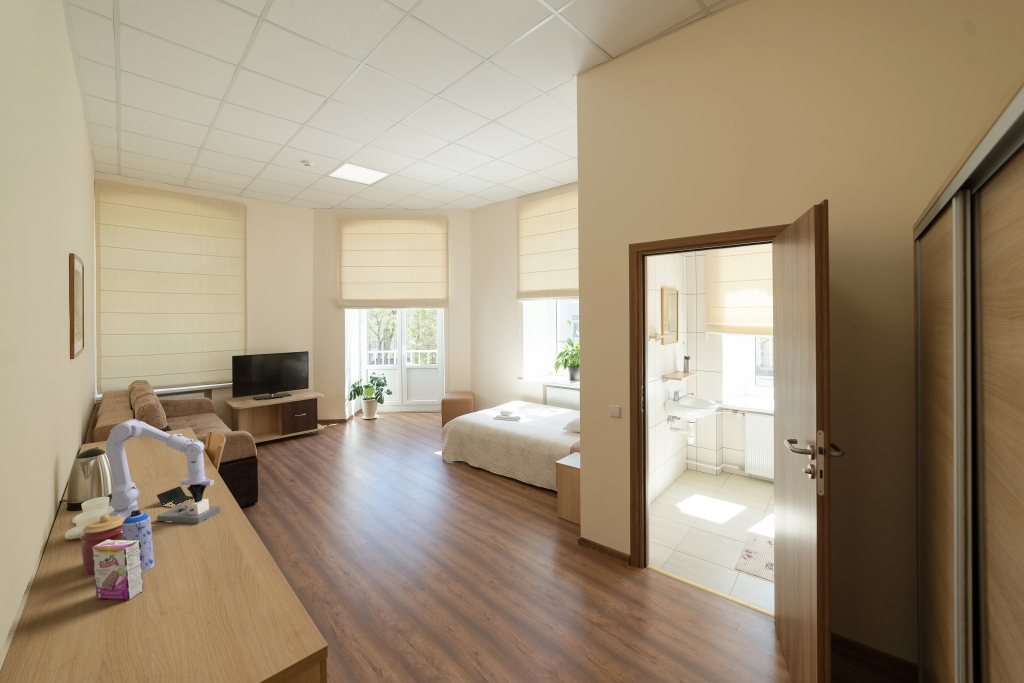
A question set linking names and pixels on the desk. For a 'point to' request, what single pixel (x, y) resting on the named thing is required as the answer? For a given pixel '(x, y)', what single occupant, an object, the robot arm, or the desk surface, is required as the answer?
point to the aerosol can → (140, 536)
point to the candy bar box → (117, 569)
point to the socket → (186, 514)
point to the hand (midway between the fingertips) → (198, 501)
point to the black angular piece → (173, 496)
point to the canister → (99, 537)
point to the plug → (198, 507)
